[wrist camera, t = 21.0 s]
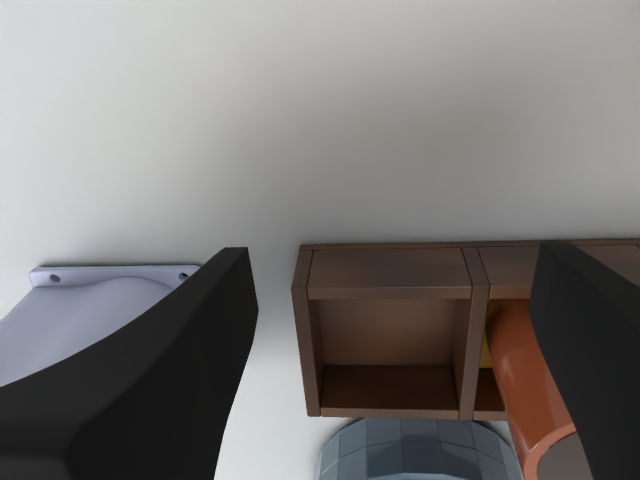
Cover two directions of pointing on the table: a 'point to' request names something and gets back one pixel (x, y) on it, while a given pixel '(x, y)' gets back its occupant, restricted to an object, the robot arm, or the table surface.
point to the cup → (531, 397)
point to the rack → (414, 323)
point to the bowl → (416, 452)
